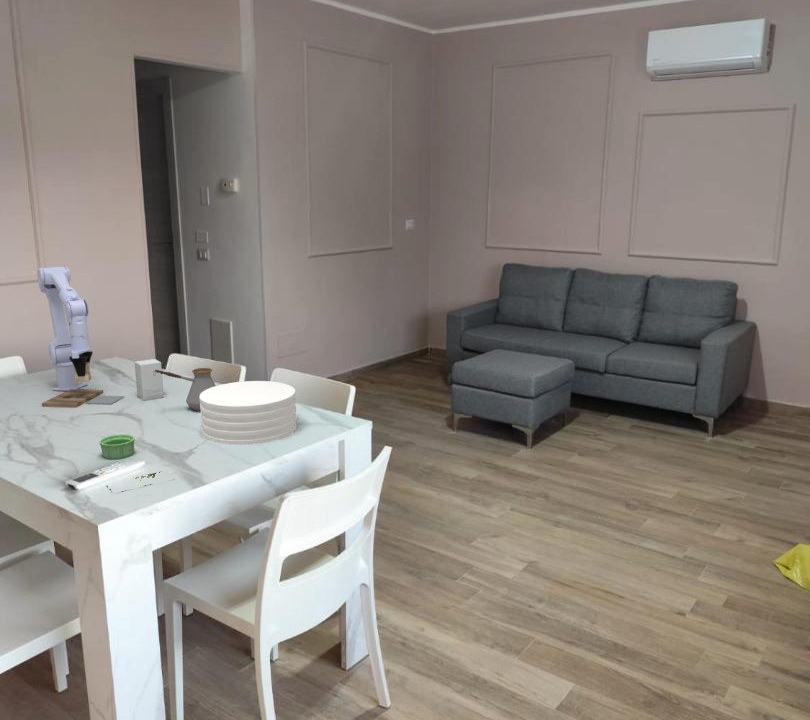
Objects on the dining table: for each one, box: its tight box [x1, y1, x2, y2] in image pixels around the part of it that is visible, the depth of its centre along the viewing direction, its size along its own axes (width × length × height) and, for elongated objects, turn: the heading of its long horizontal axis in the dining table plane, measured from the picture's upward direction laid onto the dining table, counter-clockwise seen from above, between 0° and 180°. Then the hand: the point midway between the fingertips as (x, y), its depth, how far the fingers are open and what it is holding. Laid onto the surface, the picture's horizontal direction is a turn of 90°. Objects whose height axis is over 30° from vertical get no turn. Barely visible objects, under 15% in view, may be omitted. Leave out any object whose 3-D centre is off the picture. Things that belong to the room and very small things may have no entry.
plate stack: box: [199, 380, 297, 445], centre depth 222 cm, size 28×28×12 cm
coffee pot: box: [153, 367, 217, 412], centre depth 240 cm, size 21×12×15 cm, turn 122°
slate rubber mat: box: [85, 395, 125, 405], centre depth 254 cm, size 9×9×1 cm
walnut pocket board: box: [41, 388, 104, 408], centre depth 255 cm, size 18×12×1 cm, turn 173°
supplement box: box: [134, 358, 165, 401], centre depth 256 cm, size 7×7×13 cm
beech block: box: [74, 362, 92, 383], centre depth 252 cm, size 4×4×6 cm
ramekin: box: [99, 434, 136, 460], centre depth 201 cm, size 9×9×4 cm
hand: (83, 374), depth 252 cm, fingers closed on beech block, 4 cm apart
